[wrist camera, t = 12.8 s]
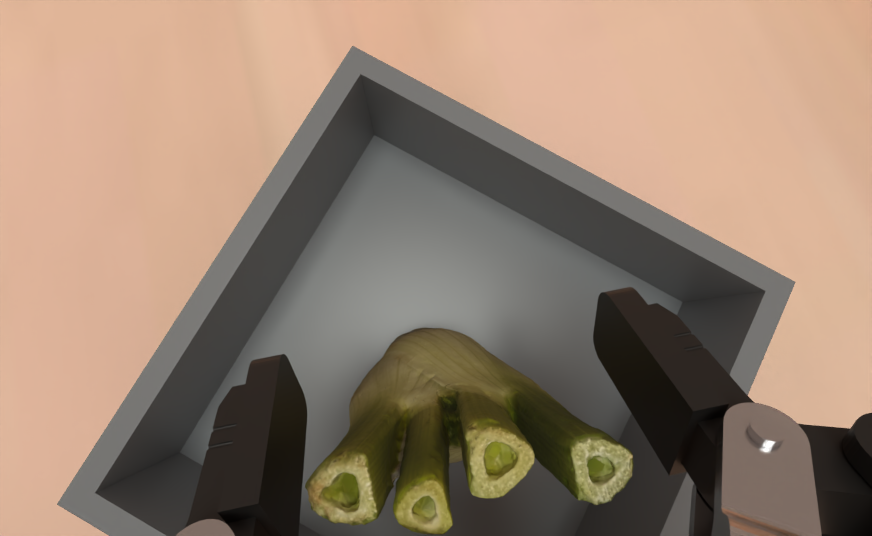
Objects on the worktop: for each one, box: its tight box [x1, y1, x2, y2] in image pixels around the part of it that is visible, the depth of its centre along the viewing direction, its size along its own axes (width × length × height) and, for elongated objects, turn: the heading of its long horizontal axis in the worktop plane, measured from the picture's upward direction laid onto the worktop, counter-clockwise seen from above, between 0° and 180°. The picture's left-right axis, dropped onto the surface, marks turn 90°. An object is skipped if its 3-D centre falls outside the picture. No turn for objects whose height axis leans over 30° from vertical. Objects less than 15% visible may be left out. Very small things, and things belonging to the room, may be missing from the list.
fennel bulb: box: [305, 328, 634, 535], centre depth 14 cm, size 6×5×12 cm
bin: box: [57, 46, 795, 536], centre depth 18 cm, size 18×18×6 cm
